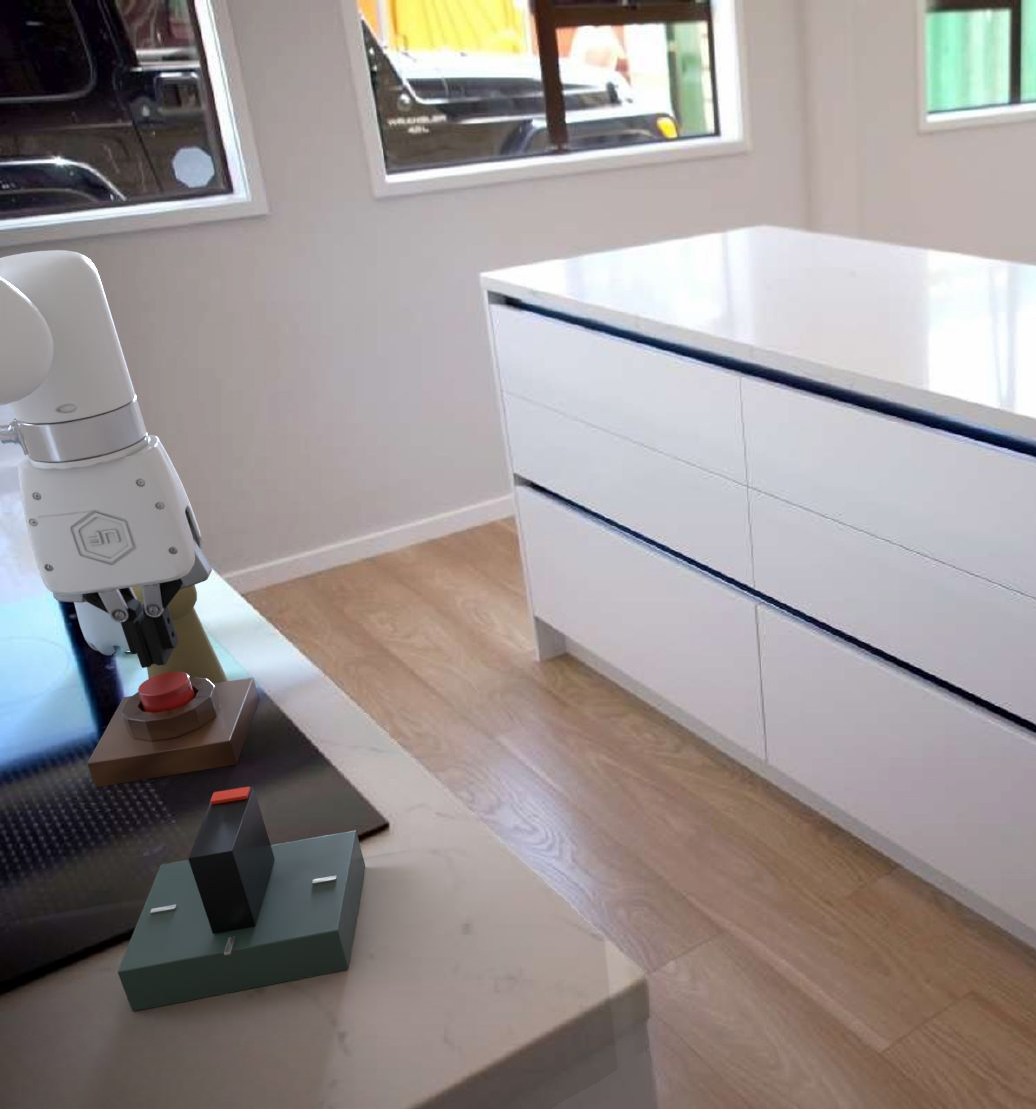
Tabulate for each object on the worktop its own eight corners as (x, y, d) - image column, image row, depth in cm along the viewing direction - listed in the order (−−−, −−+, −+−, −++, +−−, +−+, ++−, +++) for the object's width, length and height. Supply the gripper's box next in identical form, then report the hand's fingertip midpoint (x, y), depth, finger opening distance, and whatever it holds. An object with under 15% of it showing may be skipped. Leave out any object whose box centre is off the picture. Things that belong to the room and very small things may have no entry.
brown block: (95, 788, 94) (79, 742, 93) (131, 719, 103) (116, 677, 102) (237, 764, 96) (223, 720, 94) (260, 699, 105) (248, 657, 103)
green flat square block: (130, 1016, 72) (114, 974, 71) (174, 897, 82) (161, 858, 81) (348, 973, 75) (336, 932, 73) (366, 863, 84) (356, 824, 83)
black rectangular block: (255, 926, 74) (231, 847, 72) (212, 934, 74) (186, 854, 72) (275, 859, 80) (252, 783, 78) (235, 866, 80) (211, 790, 77)
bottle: (69, 658, 114) (-3, 449, 105) (123, 624, 120) (59, 423, 111) (132, 664, 112) (63, 452, 104) (184, 629, 118) (123, 425, 110)
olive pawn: (231, 669, 110) (198, 555, 106) (228, 702, 105) (193, 583, 100) (155, 685, 108) (118, 569, 104) (148, 719, 103) (109, 599, 99)
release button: (138, 717, 96) (132, 698, 96) (150, 694, 99) (144, 675, 99) (189, 710, 97) (183, 690, 96) (199, 687, 100) (193, 668, 99)
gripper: (-53, 464, 84) (36, 699, 92) (185, 435, 87) (252, 665, 95) (-12, 429, 91) (68, 651, 99) (208, 403, 94) (269, 621, 101)
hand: (158, 657), depth 97 cm, fingers closed
